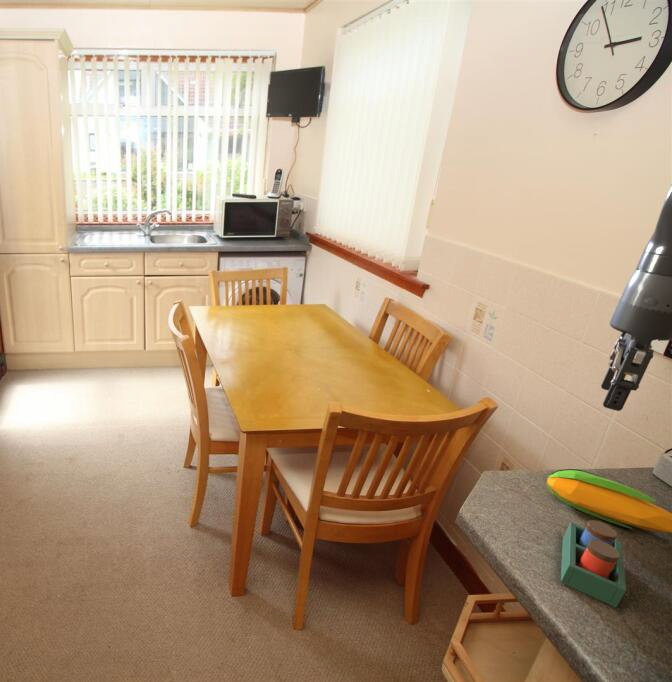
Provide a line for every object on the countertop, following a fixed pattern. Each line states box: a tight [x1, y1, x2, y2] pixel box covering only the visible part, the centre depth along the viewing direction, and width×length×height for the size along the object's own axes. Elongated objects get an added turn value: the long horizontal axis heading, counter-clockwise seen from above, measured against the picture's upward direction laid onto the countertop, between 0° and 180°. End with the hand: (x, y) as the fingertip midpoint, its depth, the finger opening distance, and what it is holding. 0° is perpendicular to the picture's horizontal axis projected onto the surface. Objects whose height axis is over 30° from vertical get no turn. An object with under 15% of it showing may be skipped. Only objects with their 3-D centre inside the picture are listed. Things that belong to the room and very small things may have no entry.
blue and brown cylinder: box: [577, 520, 618, 548], centre depth 77 cm, size 4×4×6 cm
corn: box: [546, 468, 672, 534], centre depth 87 cm, size 7×8×20 cm
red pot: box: [577, 540, 620, 579], centre depth 73 cm, size 4×4×6 cm
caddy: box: [560, 521, 627, 608], centre depth 76 cm, size 7×12×4 cm, turn 140°
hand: (609, 398), depth 76 cm, fingers open, 8 cm apart
